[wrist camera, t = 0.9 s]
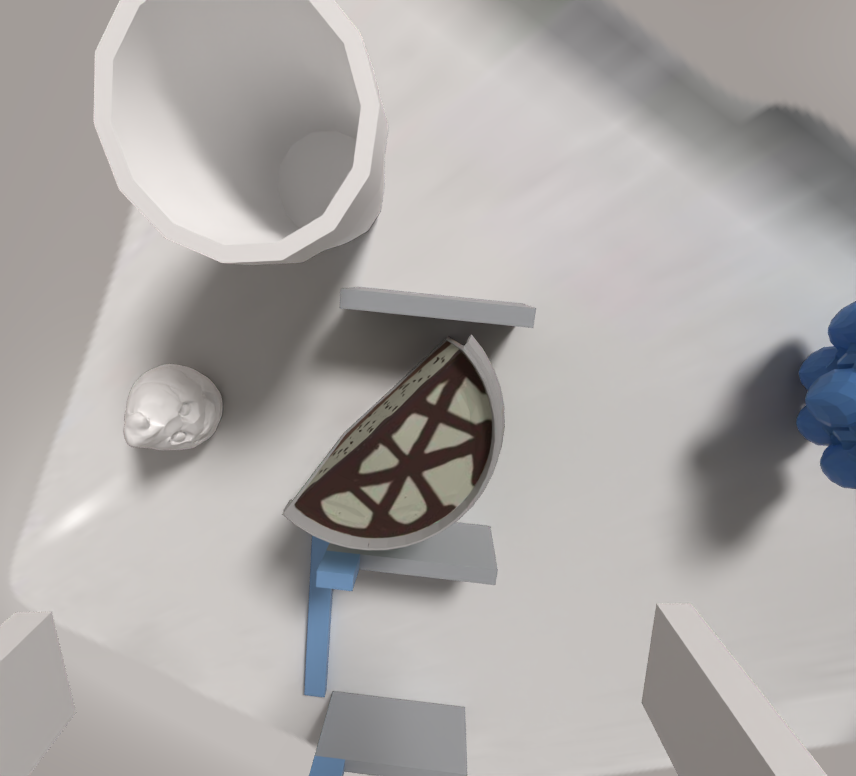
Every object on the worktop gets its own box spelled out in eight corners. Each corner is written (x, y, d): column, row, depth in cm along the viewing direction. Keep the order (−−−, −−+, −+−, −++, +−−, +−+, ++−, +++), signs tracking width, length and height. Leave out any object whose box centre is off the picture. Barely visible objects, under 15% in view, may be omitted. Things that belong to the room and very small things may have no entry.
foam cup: (220, 179, 28) (34, 99, 16) (332, 61, 27) (226, -135, 14) (330, 302, 30) (240, 319, 17) (443, 197, 28) (438, 129, 15)
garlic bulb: (161, 490, 26) (67, 454, 26) (214, 452, 32) (137, 422, 32) (188, 402, 25) (89, 363, 25) (237, 379, 31) (158, 347, 31)
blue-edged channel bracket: (521, 303, 29) (543, 310, 22) (463, 718, 36) (466, 820, 29) (326, 283, 29) (289, 284, 23) (306, 699, 36) (273, 796, 30)
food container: (392, 510, 33) (367, 609, 23) (328, 447, 32) (274, 521, 22) (531, 391, 30) (569, 444, 21) (465, 319, 30) (473, 339, 20)
